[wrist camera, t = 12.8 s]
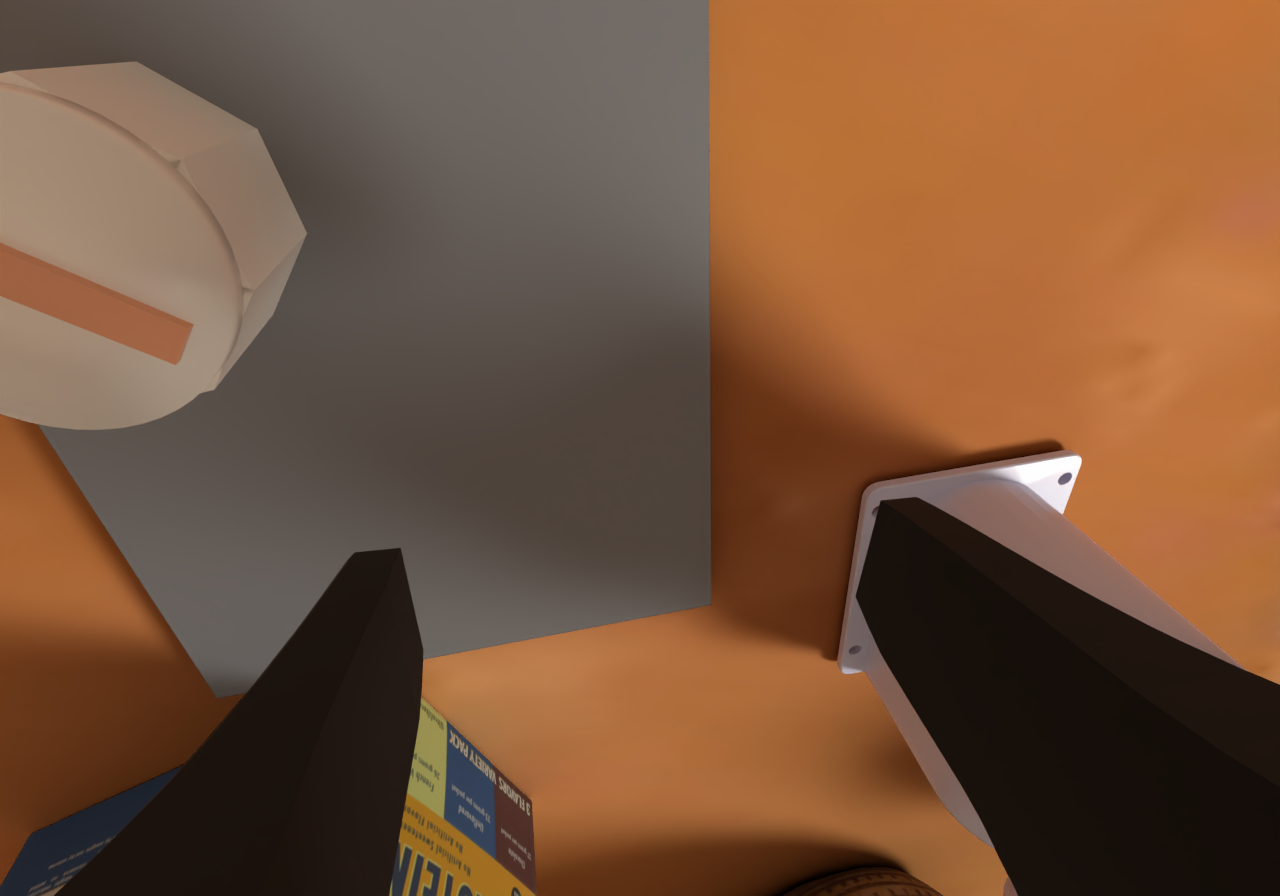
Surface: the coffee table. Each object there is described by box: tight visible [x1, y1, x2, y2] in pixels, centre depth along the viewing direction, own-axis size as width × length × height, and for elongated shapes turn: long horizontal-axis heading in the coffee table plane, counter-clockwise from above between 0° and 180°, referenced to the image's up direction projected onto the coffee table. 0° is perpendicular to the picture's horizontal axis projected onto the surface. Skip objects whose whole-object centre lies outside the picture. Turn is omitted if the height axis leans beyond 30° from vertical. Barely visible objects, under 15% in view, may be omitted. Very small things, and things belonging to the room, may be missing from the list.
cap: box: [0, 61, 307, 430], centre depth 11 cm, size 5×5×5 cm
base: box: [0, 0, 711, 698], centre depth 15 cm, size 20×16×4 cm
